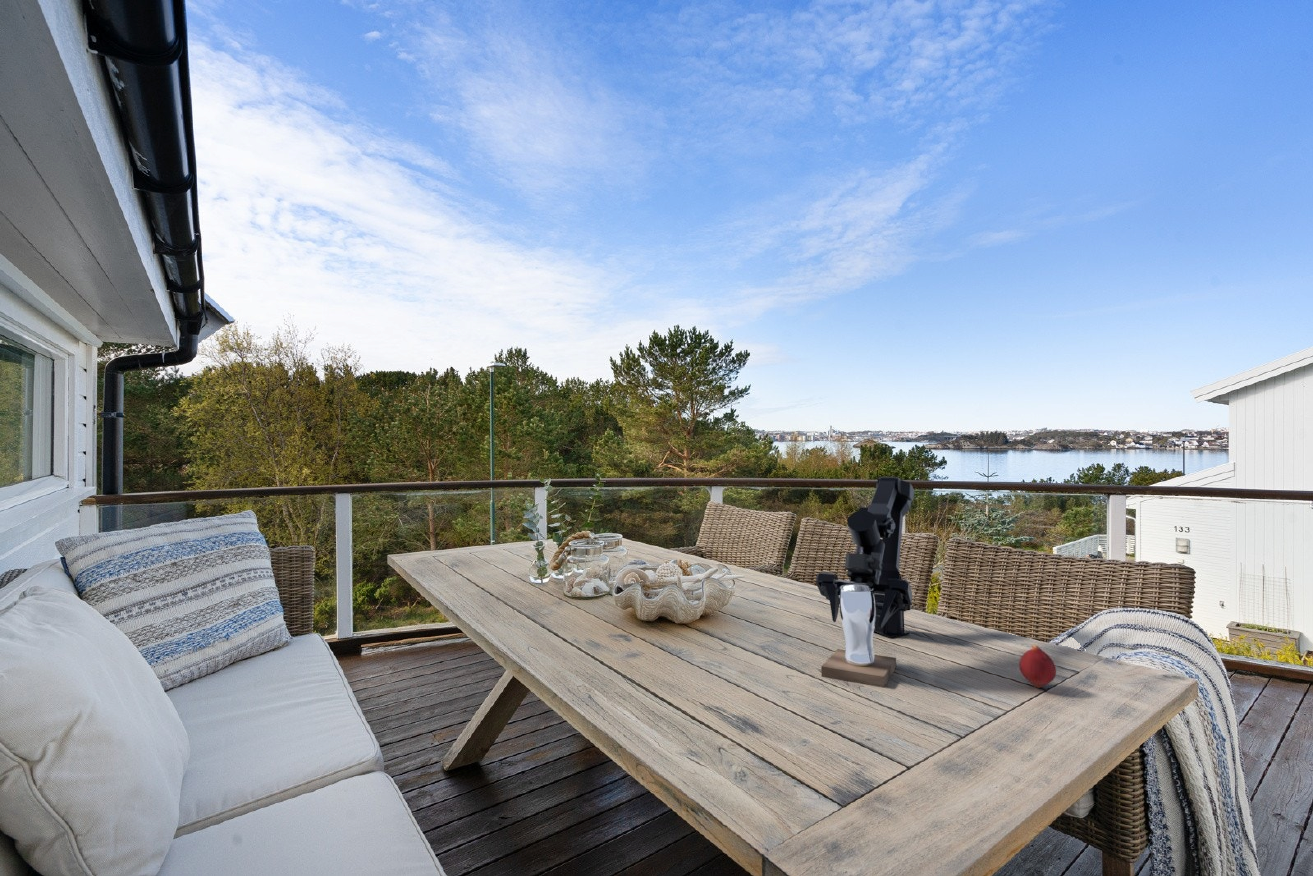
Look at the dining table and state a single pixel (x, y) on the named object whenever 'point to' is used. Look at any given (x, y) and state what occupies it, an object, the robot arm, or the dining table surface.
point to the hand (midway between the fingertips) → (856, 624)
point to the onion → (1037, 667)
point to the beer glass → (858, 623)
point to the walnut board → (859, 669)
